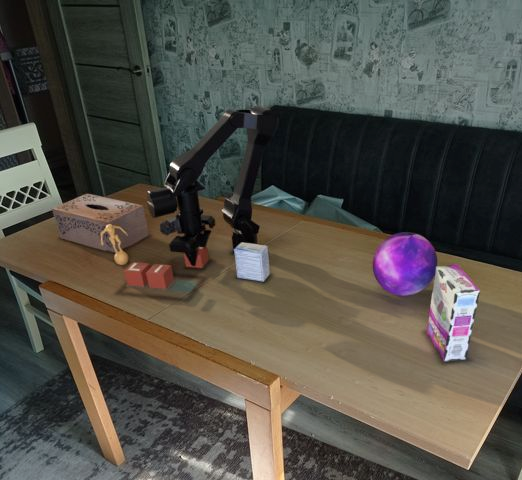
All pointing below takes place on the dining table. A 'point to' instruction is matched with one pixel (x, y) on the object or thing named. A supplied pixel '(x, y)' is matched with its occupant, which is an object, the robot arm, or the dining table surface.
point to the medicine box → (252, 261)
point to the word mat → (177, 286)
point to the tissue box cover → (100, 221)
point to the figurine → (120, 256)
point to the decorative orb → (404, 263)
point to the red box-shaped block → (160, 276)
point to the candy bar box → (452, 312)
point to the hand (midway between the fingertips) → (197, 261)
